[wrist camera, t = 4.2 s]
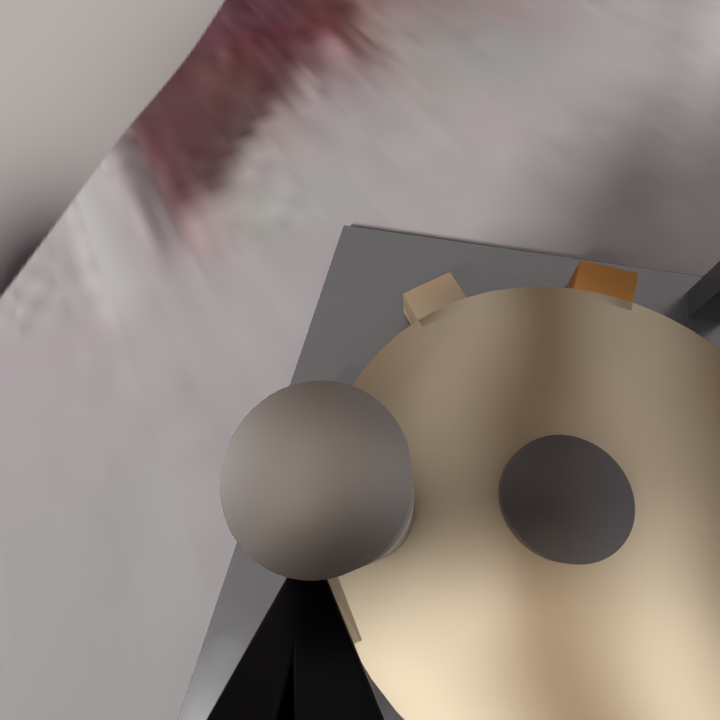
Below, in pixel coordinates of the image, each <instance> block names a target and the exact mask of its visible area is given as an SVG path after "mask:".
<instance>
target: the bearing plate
mask: <svg viewBox="0 0 720 720" xmlns="http://www.w3.org/2000/svg"><path fill="white" fill-rule="evenodd" d="M580 260H582V261H587V262H591V263H596V264H600V265H605V266H609V267H614V268H618V269H623V270H627V271H632V272H636V273H638V278H637V284H636V289H635V294H634V300H633V303H635V304H638V305H640V306H643V307H645V308H648V309H650V310H653V311H655V312H658V313H660V314H662V315H664V316H666V317H668V318H670V319H672V320H674V321H676V322H677V323H679V324H681V325H683V326H685V327H687V328H689V329H691V330H692V331H694V332H695V333H697V334H698V335H700V336H701V337H703V338H704V339H706V340H707V341H709V342H710V343H712V344H713V345H715V346H716V347H718V348H719V349H720V261H719V262H718V263H717V264H716V265H715V266H714V267H713V268H712V269H711V270H710V271H709V272H708V273H707V274H706V275H704V276H703V277H702V276H695V275H688V274H681V273H674V272H667V271H660V270H653V269H646V268H639V267H632V266H625V265H618V264H611V263H604V262H597V261H590V260H583V259H576V258H569V257H562V256H555V255H548V254H541V253H534V252H527V251H520V250H513V249H506V248H499V247H492V246H485V245H478V244H471V243H464V242H457V241H450V240H443V239H436V238H429V237H422V236H415V235H408V234H401V233H394V232H387V231H380V230H373V229H366V228H359V227H352V226H345V225H344V227H343V230H342V232H341V235H340V238H339V241H338V244H337V247H336V250H335V253H334V256H333V259H332V262H331V265H330V268H329V271H328V274H327V277H326V280H325V283H324V286H323V289H322V292H321V295H320V298H319V301H318V304H317V307H316V310H315V313H314V316H313V319H312V322H311V325H310V328H309V331H308V333H307V336H306V339H305V342H304V345H303V348H302V351H301V354H300V357H299V360H298V363H297V366H296V369H295V372H294V375H293V378H292V381H291V384H290V386H291V385H294V384H298V383H302V382H308V381H318V380H327V381H335V382H341V383H345V384H349V385H351V386H353V384H354V383H355V381H356V380H357V378H358V377H359V375H360V374H361V372H362V371H363V370H364V369H365V367H366V366H367V365H368V364H369V363H370V362H371V360H372V359H373V358H374V357H375V356H376V354H377V353H378V352H379V351H380V350H381V349H382V348H384V347H385V346H386V345H387V344H388V343H389V342H390V341H391V340H392V339H393V338H394V337H395V336H397V335H398V334H399V333H401V332H402V331H403V330H405V329H406V328H408V327H409V326H410V325H411V324H410V322H409V320H408V319H407V317H406V315H405V313H404V304H403V293H405V292H407V291H410V290H412V289H414V288H416V287H418V286H421V285H423V284H425V283H427V282H429V281H431V280H434V279H436V278H438V277H440V276H442V275H445V274H447V273H449V272H450V273H451V274H452V276H453V277H454V279H455V281H456V282H457V284H458V285H459V287H460V288H461V290H462V291H463V293H464V294H465V296H466V297H471V296H475V295H478V294H482V293H486V292H490V291H495V290H502V289H509V288H516V287H541V286H548V287H561V288H567V284H568V281H569V279H570V278H571V276H572V274H573V273H574V271H575V269H576V267H577V266H578V264H579V262H580ZM286 578H287V577H284V576H281V575H279V574H276V573H273V572H272V571H270V570H268V569H266V568H264V567H262V566H261V565H260V564H258V563H257V562H256V561H254V560H253V559H252V558H251V557H250V556H249V555H248V554H247V553H246V552H245V551H244V550H243V549H242V548H241V546H240V545H239V544H238V542H237V544H236V547H235V550H234V553H233V556H232V559H231V562H230V565H229V568H228V571H227V574H226V577H225V580H224V583H223V586H222V589H221V592H220V595H219V598H218V601H217V604H216V607H215V610H214V613H213V616H212V619H211V622H210V625H209V628H208V631H207V634H206V637H205V639H204V642H203V645H202V648H201V651H200V654H199V657H198V660H197V663H196V666H195V669H194V672H193V675H192V678H191V681H190V684H189V687H188V690H187V693H186V696H185V699H184V702H183V705H182V708H181V711H180V714H179V717H178V720H206V719H207V717H208V716H209V714H210V712H211V710H212V709H213V707H214V705H215V703H216V701H217V700H218V698H219V696H220V694H221V693H222V691H223V689H224V687H225V685H226V684H227V682H228V680H229V678H230V677H231V675H232V673H233V671H234V670H235V668H236V666H237V664H238V662H239V661H240V659H241V657H242V655H243V654H244V652H245V650H246V648H247V646H248V645H249V643H250V641H251V639H252V638H253V636H254V634H255V632H256V630H257V629H258V627H259V625H260V623H261V622H262V620H263V618H264V616H265V614H266V613H267V611H268V609H269V607H270V606H271V604H272V602H273V600H274V598H275V597H276V595H277V593H278V591H279V590H280V588H281V586H282V584H283V583H284V581H285V579H286ZM363 667H364V665H363ZM364 669H365V667H364ZM365 672H366V674H367V677H368V679H369V681H370V684H371V686H372V689H373V691H374V694H375V696H376V698H377V701H378V703H379V706H380V708H381V711H382V713H383V715H384V718H385V720H404V719H403V718H402V716H401V715H400V714H399V713H398V712H397V711H396V710H395V709H394V708H393V706H392V705H391V704H390V702H389V701H388V700H387V698H386V697H385V696H384V694H383V693H382V692H381V691H380V689H379V688H378V687H377V685H376V684H375V683H374V681H373V680H372V679H371V677H370V675H369V674H368V672H367V670H366V669H365Z"/></svg>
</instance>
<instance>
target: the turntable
mask: <svg viewBox="0 0 720 720" xmlns="http://www.w3.org/2000/svg"><path fill="white" fill-rule="evenodd" d="M637 278H638V273H636V272H632V271H627V270H623V269H618V268H614V267H609V266H605V265H600V264H596V263H591V262H587V261H582V260H580V262H579V264H578V266H577V267H576V269H575V271H574V273H573V274H572V276H571V278H570V279H569V281H568V284H567V288H561V287H548V286H541V287H516V288H509V289H502V290H495V291H490V292H486V293H482V294H478V295H475V296H471V297H466V296H465V294H464V293H463V291H462V290H461V288H460V287H459V285H458V284H457V282H456V281H455V279H454V277H453V276H452V274H451V273H450V272H449V273H447V274H445V275H442V276H440V277H438V278H436V279H434V280H431V281H429V282H427V283H425V284H423V285H421V286H418V287H416V288H414V289H412V290H410V291H407V292H405V293H403V304H404V313H405V315H406V317H407V319H408V320H409V322H410V324H411V325H410V326H409V327H408V328H406V329H405V330H403V331H402V332H401V333H399V334H398V335H397V336H395V337H394V338H393V339H392V340H391V341H390V342H389V343H388V344H387V345H386V346H385V347H384V348H382V349H381V350H380V351H379V352H378V353H377V354H376V356H375V357H374V358H373V359H372V360H371V362H370V363H369V364H368V365H367V366H366V367H365V369H364V370H363V371H362V372H361V374H360V375H359V377H358V378H357V380H356V381H355V383H354V384H353V386H351V385H349V384H345V383H341V382H335V381H327V380H318V381H308V382H302V383H298V384H294V385H291V386H288V387H286V388H283V389H281V390H279V391H277V392H275V393H273V394H272V395H270V396H269V397H267V398H266V399H264V400H263V401H261V402H260V403H259V404H258V405H257V406H256V407H254V408H253V409H252V410H251V411H250V412H249V414H248V415H247V416H246V417H245V418H244V419H243V421H242V422H241V423H240V425H239V426H238V428H237V429H236V431H235V433H234V435H233V436H232V438H231V440H230V442H229V445H228V447H227V450H226V453H225V456H224V460H223V464H222V470H221V476H220V494H221V503H222V507H223V512H224V516H225V518H226V521H227V524H228V526H229V529H230V530H231V532H232V534H233V536H234V538H235V539H236V541H237V542H238V544H239V545H240V546H241V548H242V549H243V550H244V551H245V552H246V553H247V554H248V555H249V556H250V557H251V558H252V559H253V560H254V561H256V562H257V563H258V564H260V565H261V566H262V567H264V568H266V569H268V570H270V571H272V572H273V573H276V574H279V575H281V576H284V577H287V578H292V579H297V580H309V581H316V580H326V579H328V582H329V584H330V587H331V589H332V592H333V594H334V596H335V599H336V601H337V604H338V606H339V609H340V611H341V613H342V616H343V618H344V621H345V623H346V626H347V628H348V630H349V633H350V635H351V638H352V640H353V643H354V645H355V647H356V650H357V652H358V655H359V657H360V660H361V662H362V664H363V665H364V667H365V669H366V670H367V672H368V674H369V675H370V677H371V679H372V680H373V681H374V683H375V684H376V685H377V687H378V688H379V689H380V691H381V692H382V693H383V694H384V696H385V697H386V698H387V700H388V701H389V702H390V704H391V705H392V706H393V708H394V709H395V710H396V711H397V712H398V713H399V714H400V715H401V716H402V718H403V719H404V720H720V349H719V348H718V347H716V346H715V345H713V344H712V343H710V342H709V341H707V340H706V339H704V338H703V337H701V336H700V335H698V334H697V333H695V332H694V331H692V330H691V329H689V328H687V327H685V326H683V325H681V324H679V323H677V322H676V321H674V320H672V319H670V318H668V317H666V316H664V315H662V314H660V313H658V312H655V311H653V310H650V309H648V308H645V307H643V306H640V305H638V304H635V303H633V300H634V294H635V289H636V284H637Z"/></svg>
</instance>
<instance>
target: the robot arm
mask: <svg viewBox="0 0 720 720" xmlns="http://www.w3.org/2000/svg"><path fill="white" fill-rule="evenodd" d="M206 720H385V718H384V715H383V713H382V711H381V708H380V706H379V703H378V701H377V698H376V696H375V694H374V691H373V689H372V686H371V684H370V681H369V679H368V677H367V674H366V672H365V669H364V667H363V664H362V662H361V660H360V657H359V655H358V652H357V650H356V647H355V645H354V643H353V640H352V638H351V635H350V633H349V630H348V628H347V626H346V623H345V621H344V618H343V616H342V613H341V611H340V609H339V606H338V604H337V601H336V599H335V596H334V594H333V592H332V589H331V587H330V584H329V582H328V579H326V580H316V581H309V580H297V579H292V578H286V579H285V581H284V583H283V584H282V586H281V588H280V590H279V591H278V593H277V595H276V597H275V598H274V600H273V602H272V604H271V606H270V607H269V609H268V611H267V613H266V614H265V616H264V618H263V620H262V622H261V623H260V625H259V627H258V629H257V630H256V632H255V634H254V636H253V638H252V639H251V641H250V643H249V645H248V646H247V648H246V650H245V652H244V654H243V655H242V657H241V659H240V661H239V662H238V664H237V666H236V668H235V670H234V671H233V673H232V675H231V677H230V678H229V680H228V682H227V684H226V685H225V687H224V689H223V691H222V693H221V694H220V696H219V698H218V700H217V701H216V703H215V705H214V707H213V709H212V710H211V712H210V714H209V716H208V717H207V719H206Z"/></svg>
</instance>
